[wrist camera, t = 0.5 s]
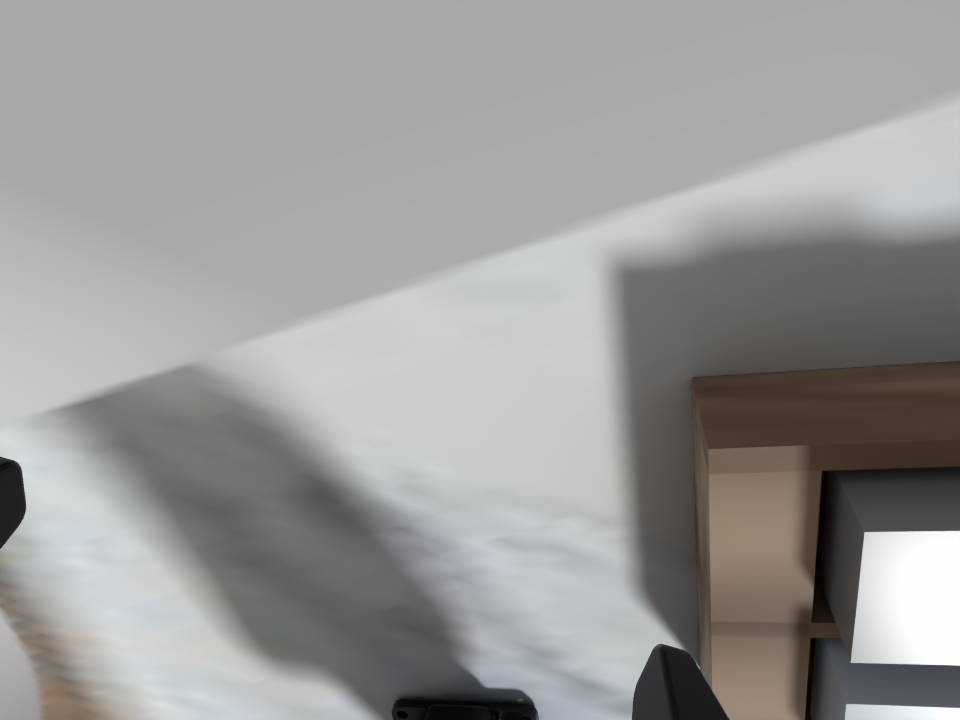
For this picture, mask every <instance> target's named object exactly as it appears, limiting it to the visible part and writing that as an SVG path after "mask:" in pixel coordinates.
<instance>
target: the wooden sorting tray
mask: <svg viewBox="0 0 960 720" xmlns="http://www.w3.org/2000/svg"><path fill="white" fill-rule="evenodd" d="M692 410H693V447H694V483H695V520H696V557H697V593H698V630H699V667H700V671H701V673H702V675H703V676H704V678H705V679H706V681H707V683H708V684H709V686H710V688H711V689H712V691H713V693H714V694H715V696H716V698H717V699H718V701H719V702H720V704H721V706H722V707H723V709H724V711H725V712H726V714H727V716H728V717H729V719H730V720H812V719H811V716H810V705H811V691H812V678H813V664H814V650H815V638H841V636H840V633H839V630H838V628H837V625H836V622H835V620H834V617H833V614H832V612H831V609H830V606H829V604H828V601H827V598H826V596H825V593H824V590H823V588H822V585H821V582H820V568H821V555H822V541H823V527H824V514H825V500H826V486H827V472H828V471H829V470H861V469H894V468H927V467H960V362H945V363H928V364H912V365H895V366H878V367H861V368H845V369H828V370H811V371H794V372H778V373H761V374H744V375H727V376H711V377H694V378H692Z"/></svg>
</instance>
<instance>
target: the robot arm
mask: <svg viewBox="0 0 960 720" xmlns="http://www.w3.org/2000/svg"><path fill="white" fill-rule="evenodd" d="M25 511H26V500H25V492H24V484H23V476H22V470H21V467H20V465H19V464H18V463H17V462H15V461H13V460H10V459H6V458H3V457H0V549H1V548H2V546H3V545H4V544H5V543H6V541H7V540H8V539H9V538H10V536H11V535H12V534H13V533H14V531H15V530H16V529H17V527H18V526H19V525H20V523H21V521H22V520H23V518H24V515H25ZM392 716H393V719H394V720H539V718H538V712H537V710H536V709H535V708H534V707H533V706H531V705H528V704H512V703H488V702H463V701H438V700H413V699H399V700H397V701H395V703H394V706H393V709H392ZM632 720H730V719H729V717H728V716H727V714H726V712H725V711H724V709H723V707H722V706H721V704H720V702H719V701H718V699H717V698H716V696H715V694H714V693H713V691H712V689H711V688H710V686H709V684H708V683H707V681H706V679H705V678H704V676H703V675H702V673H701V671H700V670H699V668H698V666H697V665H696V663H695V661H694V660H693V658H692V657H691V655H690V654H689V653H688V652H686V651H685V650H681V649H678V648H674V647H671V646H667V645H664V644H658V645H656V646H655V647H654V649H653V650H652V652H651V654H650V657H649V659H648V661H647V663H646V665H645V667H644V669H643V671H642V674H641V676H640V678H639V680H638V682H637V685H636V688H635V692H634V698H633V711H632Z"/></svg>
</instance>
